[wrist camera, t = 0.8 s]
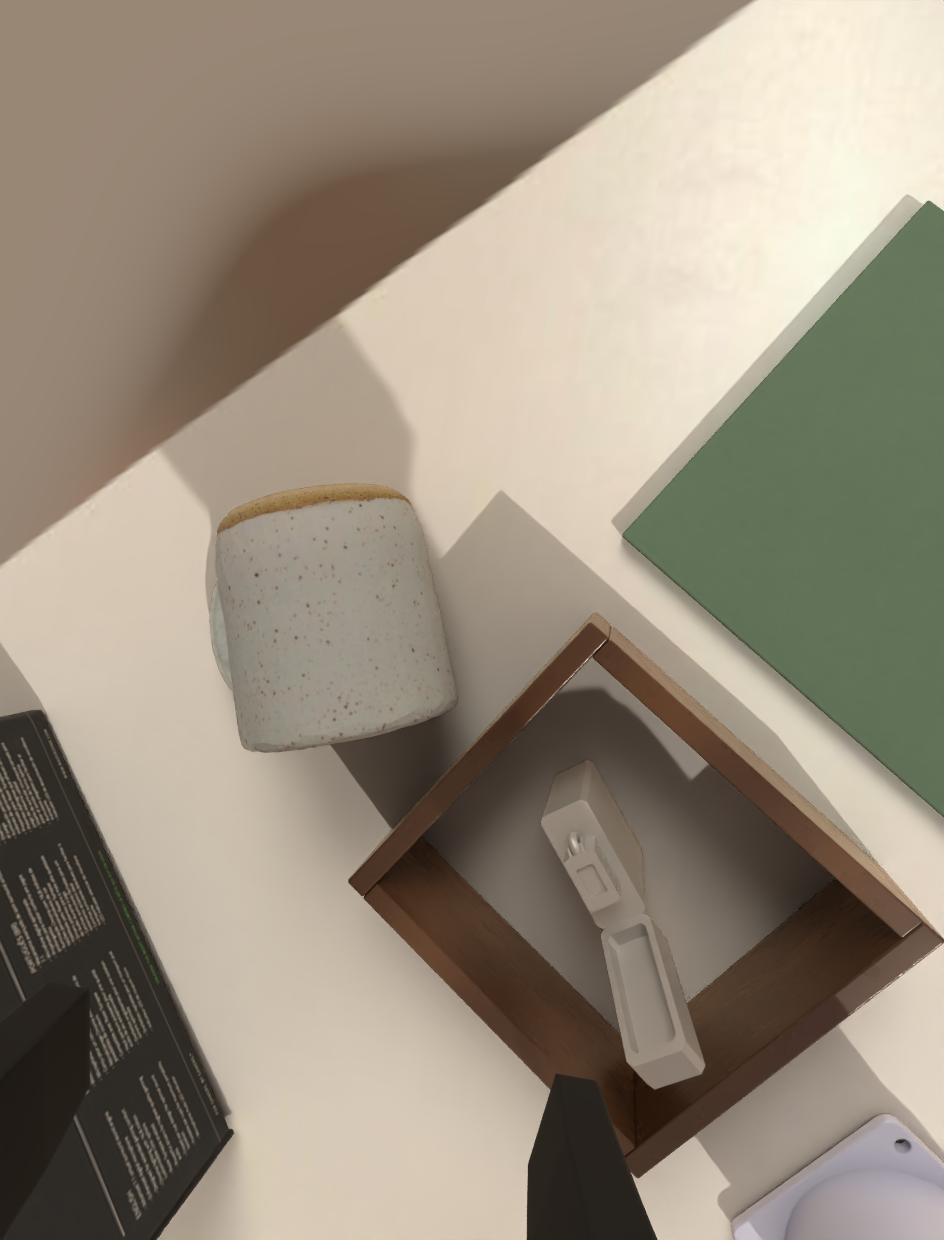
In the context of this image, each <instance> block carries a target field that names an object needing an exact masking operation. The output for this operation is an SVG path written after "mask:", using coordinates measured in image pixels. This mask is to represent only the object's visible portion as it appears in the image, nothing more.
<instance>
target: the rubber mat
mask: <svg viewBox="0 0 944 1240" xmlns="http://www.w3.org/2000/svg"><path fill="white" fill-rule="evenodd" d="M622 536H623V538H624V539H626V540H627V541H628V542H629V543H630V544H631V545H632V546H634V547H635V548H636V549H637V550H638V551H639V552H641V553H642V554H643V555H644V556H645V557H646V558H647V559H649V560H650V561H651V562H652V563H653V564H654V565H655V566H657V567H658V568H659V569H660V570H661V571H662V572H663V573H665V574H666V575H667V576H668V577H669V578H670V579H671V580H673V581H674V582H675V583H676V584H677V585H678V586H679V587H681V588H682V589H683V590H684V591H685V592H686V593H687V594H689V595H690V596H691V597H692V598H693V599H694V600H696V601H697V602H698V603H699V604H700V605H701V606H702V607H704V608H705V609H706V610H707V611H708V612H709V613H710V614H712V615H713V616H714V617H715V618H716V619H717V620H718V621H720V622H721V623H722V624H723V625H724V626H725V627H726V628H728V629H729V630H730V631H731V632H732V633H733V634H734V635H736V636H737V637H738V638H739V639H740V640H741V641H742V642H744V643H745V644H746V645H747V646H748V647H749V648H750V649H752V650H753V651H754V652H755V653H756V654H757V655H759V656H760V657H761V658H762V659H763V660H764V661H765V662H767V663H768V664H769V665H770V666H771V667H772V668H773V669H775V670H776V671H777V672H778V673H779V674H780V675H781V676H783V677H784V678H785V679H786V680H787V681H788V682H789V683H791V684H792V685H793V686H794V687H795V688H796V689H797V690H799V691H800V692H801V693H802V694H803V695H804V696H805V697H807V698H808V699H809V700H810V701H811V702H812V703H814V704H815V705H816V706H817V707H818V708H819V709H820V710H822V711H823V712H824V713H825V714H826V715H827V716H828V717H830V718H831V719H832V720H833V721H834V722H835V723H836V724H838V725H839V726H840V727H841V728H842V729H843V730H844V731H846V732H847V733H848V734H849V735H850V736H851V737H852V738H854V739H855V740H856V741H857V742H858V743H859V744H860V745H862V746H863V747H864V748H865V749H866V750H867V751H869V752H870V753H871V754H872V755H873V756H874V757H875V758H877V759H878V760H879V761H880V762H881V763H882V764H883V765H885V766H886V767H887V768H888V769H889V770H890V771H891V772H893V773H894V774H895V775H896V776H897V777H898V778H899V779H901V780H902V781H903V782H904V783H905V784H906V785H907V786H909V787H910V788H911V789H912V790H913V791H914V792H915V793H917V794H918V795H919V796H920V797H921V798H922V799H923V800H925V801H926V802H927V803H928V804H929V805H930V806H932V807H933V808H934V809H935V810H936V811H937V812H938V813H940V814H941V815H942V816H943V817H944V211H943V210H941V209H940V208H939V207H937V206H936V205H935V204H933V203H932V202H931V201H927V202H926V203H925V204H924V205H923V206H922V207H921V208H920V209H919V211H918V212H917V213H916V214H915V215H914V216H913V217H912V218H911V219H910V220H909V221H908V223H907V224H906V225H905V226H904V227H903V228H902V229H901V230H900V231H899V232H898V234H897V235H896V236H895V237H894V238H893V239H892V240H891V241H890V242H889V243H888V244H887V246H886V247H885V248H884V249H883V250H882V251H881V252H880V253H879V254H878V255H877V257H876V258H875V259H874V260H873V261H872V262H871V263H870V264H869V265H868V266H867V267H866V269H865V270H864V271H863V272H862V273H861V274H860V275H859V276H858V277H857V278H856V280H855V281H854V282H853V283H852V284H851V285H850V286H849V287H848V288H847V289H846V290H845V292H844V293H843V294H842V295H841V296H840V297H839V298H838V299H837V300H836V301H835V302H834V304H833V305H832V306H831V307H830V308H829V309H828V310H827V311H826V312H825V313H824V315H823V316H822V317H821V318H820V319H819V320H818V321H817V322H816V323H815V324H814V325H813V327H812V328H811V329H810V330H809V331H808V332H807V333H806V334H805V335H804V336H803V338H802V339H801V340H800V341H799V342H798V343H797V344H796V345H795V346H794V347H793V348H792V350H791V351H790V352H789V353H788V354H787V355H786V356H785V357H784V358H783V359H782V360H781V362H780V363H779V364H778V365H777V366H776V367H775V368H774V369H773V370H772V371H771V373H770V374H769V375H768V376H767V377H766V378H765V379H764V380H763V381H762V382H761V383H760V385H759V386H758V387H757V388H756V389H755V390H754V391H753V392H752V393H751V394H750V396H749V397H748V398H747V399H746V400H745V401H744V402H743V403H742V404H741V405H740V406H739V408H738V409H737V410H736V411H735V412H734V413H733V414H732V415H731V416H730V417H729V418H728V420H727V421H726V422H725V423H724V424H723V425H722V426H721V427H720V428H719V429H718V431H717V432H716V433H715V434H714V435H713V436H712V437H711V438H710V439H709V440H708V441H707V443H706V444H705V445H704V446H703V447H702V448H701V449H700V450H699V451H698V452H697V454H696V455H695V456H694V457H693V458H692V459H691V460H690V461H689V462H688V463H687V464H686V466H685V467H684V468H683V469H682V470H681V471H680V472H679V473H678V474H677V475H676V477H675V478H674V479H673V480H672V481H671V482H670V483H669V484H668V485H667V486H666V487H665V489H664V490H663V491H662V492H661V493H660V494H659V495H658V496H657V497H656V498H655V499H654V501H653V502H652V503H651V504H650V505H649V506H648V507H647V508H646V509H645V510H644V512H643V513H642V514H641V515H640V516H639V517H638V518H637V519H636V520H635V521H634V522H633V524H632V525H631V526H630V527H629V528H628V529H627V530H626V531H625V532H624V533H623V535H622Z"/></svg>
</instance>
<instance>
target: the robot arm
mask: <svg viewBox="0 0 944 1240" xmlns="http://www.w3.org/2000/svg"><path fill="white" fill-rule="evenodd" d="M89 1087H90V989H88V988H82V987H77V986H71V985H66V984H60V983H55V982H49V983H47V984H45V985H44V986H42V987H41V988H40V989H39V990H37V991H36V992H35V993H34V994H32V995H31V996H30V997H29V998H27V999H26V1000H25V1001H24V1002H23V1003H21V1004H20V1005H19V1006H18V1007H16V1008H15V1009H14V1010H13V1011H11V1012H10V1013H9V1014H8V1015H6V1016H5V1017H4V1018H3V1019H2V1020H0V1240H2V1239H3V1238H4V1236H5V1234H6V1233H7V1231H8V1230H9V1228H10V1227H11V1225H12V1223H13V1222H14V1220H15V1219H16V1217H17V1215H18V1214H19V1212H20V1211H21V1209H22V1208H23V1206H24V1204H25V1203H26V1201H27V1200H28V1198H29V1197H30V1195H31V1193H32V1192H33V1190H34V1189H35V1187H36V1185H37V1184H38V1182H39V1181H40V1179H41V1177H42V1176H43V1174H44V1173H45V1171H46V1169H47V1167H48V1166H49V1164H50V1162H51V1160H52V1158H53V1156H54V1154H55V1152H56V1151H57V1149H58V1147H59V1145H60V1143H61V1141H62V1139H63V1137H64V1136H65V1134H66V1132H67V1130H68V1128H69V1126H70V1124H71V1122H72V1120H73V1118H74V1116H75V1114H76V1112H77V1110H78V1108H79V1106H80V1104H81V1102H82V1101H83V1099H84V1097H85V1095H86V1093H87V1091H88V1089H89ZM899 1139H905V1141H904V1142H903V1143H896V1141H897V1140H899ZM731 1228H732V1234H733V1238H734V1240H944V1162H943V1161H942V1160H941V1159H940V1158H939V1157H938V1156H937V1155H936V1154H935V1153H934V1152H933V1151H932V1150H930V1149H929V1148H928V1147H927V1146H926V1145H925V1144H924V1143H923V1142H922V1141H921V1140H920V1139H919V1138H918V1137H917V1136H916V1135H915V1134H914V1133H913V1132H912V1131H910V1130H909V1129H908V1128H907V1127H906V1126H905V1125H904V1124H903V1123H902V1122H901V1121H900V1120H899V1119H898V1118H896V1117H895V1116H893V1115H889V1114H881V1115H878V1116H876V1117H875V1118H873V1119H872V1120H871V1121H869V1122H868V1123H866V1124H865V1125H864V1126H862V1127H861V1128H859V1129H858V1130H857V1131H855V1132H854V1133H853V1134H851V1135H850V1136H848V1137H847V1138H846V1139H844V1140H843V1141H841V1142H840V1143H839V1144H837V1145H836V1146H834V1147H833V1148H832V1149H830V1150H829V1151H827V1152H826V1153H825V1154H823V1155H822V1156H820V1157H819V1158H818V1159H816V1160H815V1161H814V1162H812V1163H811V1164H809V1165H808V1166H807V1167H805V1168H804V1169H802V1170H801V1171H800V1172H798V1173H797V1174H795V1175H794V1176H793V1177H791V1178H790V1179H788V1180H787V1181H786V1182H784V1183H783V1184H781V1185H780V1186H779V1187H777V1188H776V1189H775V1190H773V1191H772V1192H770V1193H769V1194H768V1195H766V1196H765V1197H763V1198H762V1199H761V1200H759V1201H758V1202H756V1203H755V1204H754V1205H752V1206H751V1207H749V1208H748V1209H747V1210H745V1211H744V1212H743V1213H741V1214H740V1215H738V1216H737V1217H736V1218H734V1220H733V1221H732V1224H731ZM527 1240H657V1237H656V1235H655V1233H654V1230H653V1228H652V1226H651V1223H650V1221H649V1218H648V1216H647V1213H646V1211H645V1208H644V1206H643V1203H642V1201H641V1198H640V1196H639V1193H638V1191H637V1188H636V1185H635V1183H634V1180H633V1178H632V1175H631V1172H630V1170H629V1167H628V1165H627V1162H626V1159H625V1157H624V1154H623V1151H622V1149H621V1146H620V1143H619V1141H618V1138H617V1135H616V1132H615V1129H614V1127H613V1124H612V1121H611V1118H610V1115H609V1112H608V1110H607V1107H606V1104H605V1101H604V1098H603V1095H602V1092H601V1089H600V1087H599V1085H598V1084H597V1083H596V1081H595V1080H589V1079H584V1078H578V1077H573V1076H567V1075H562V1074H556V1075H555V1078H554V1081H553V1084H552V1088H551V1091H550V1094H549V1097H548V1101H547V1104H546V1107H545V1111H544V1114H543V1117H542V1120H541V1124H540V1127H539V1130H538V1133H537V1137H536V1140H535V1143H534V1147H533V1150H532V1153H531V1156H530V1160H529V1163H528V1192H527Z"/></svg>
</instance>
